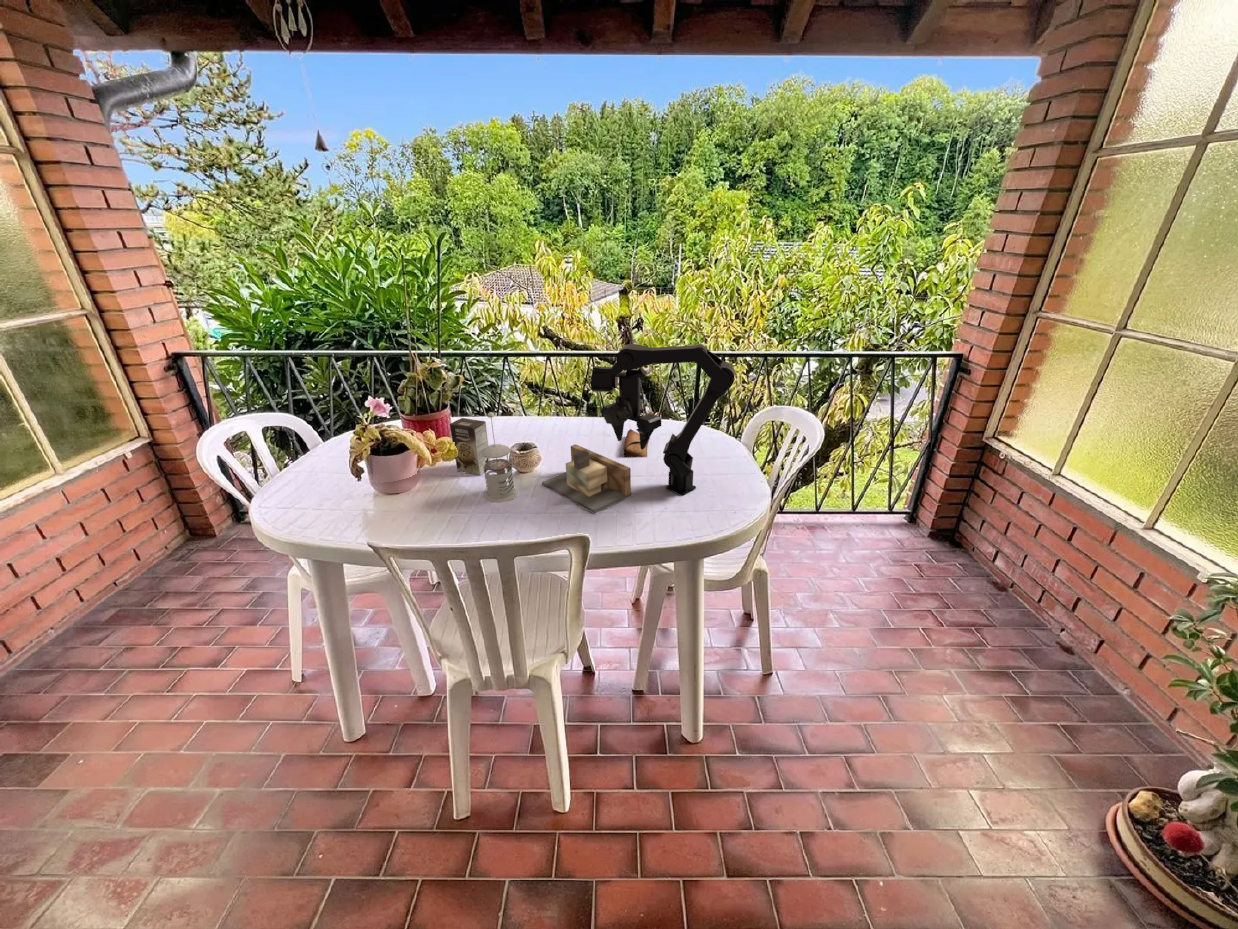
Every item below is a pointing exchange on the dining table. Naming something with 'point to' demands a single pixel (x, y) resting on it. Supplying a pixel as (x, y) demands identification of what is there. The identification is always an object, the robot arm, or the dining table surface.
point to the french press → (498, 473)
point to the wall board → (610, 490)
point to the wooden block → (585, 474)
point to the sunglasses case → (634, 445)
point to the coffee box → (470, 445)
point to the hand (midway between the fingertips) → (630, 444)
